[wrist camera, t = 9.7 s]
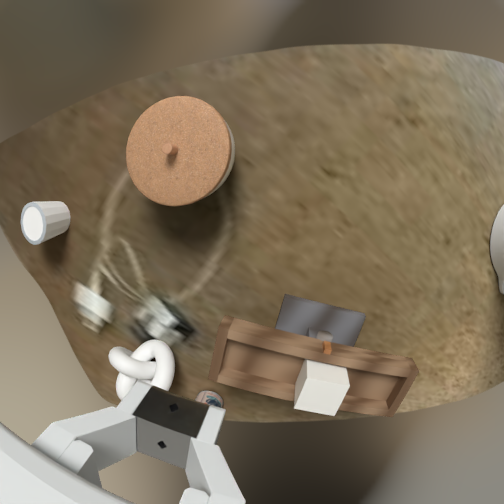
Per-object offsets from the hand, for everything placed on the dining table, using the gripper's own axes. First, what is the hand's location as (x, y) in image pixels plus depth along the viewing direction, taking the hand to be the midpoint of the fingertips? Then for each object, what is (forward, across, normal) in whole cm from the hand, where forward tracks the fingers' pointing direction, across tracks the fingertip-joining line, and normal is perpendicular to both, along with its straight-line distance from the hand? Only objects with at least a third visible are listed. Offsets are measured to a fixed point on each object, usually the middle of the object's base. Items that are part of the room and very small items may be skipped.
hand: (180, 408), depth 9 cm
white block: (+26, -11, +14) cm, 31 cm away
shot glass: (+34, +36, +6) cm, 50 cm away
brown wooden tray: (+34, -10, +14) cm, 38 cm away
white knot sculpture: (+34, +14, +27) cm, 46 cm away
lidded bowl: (+34, +12, -8) cm, 37 cm away
